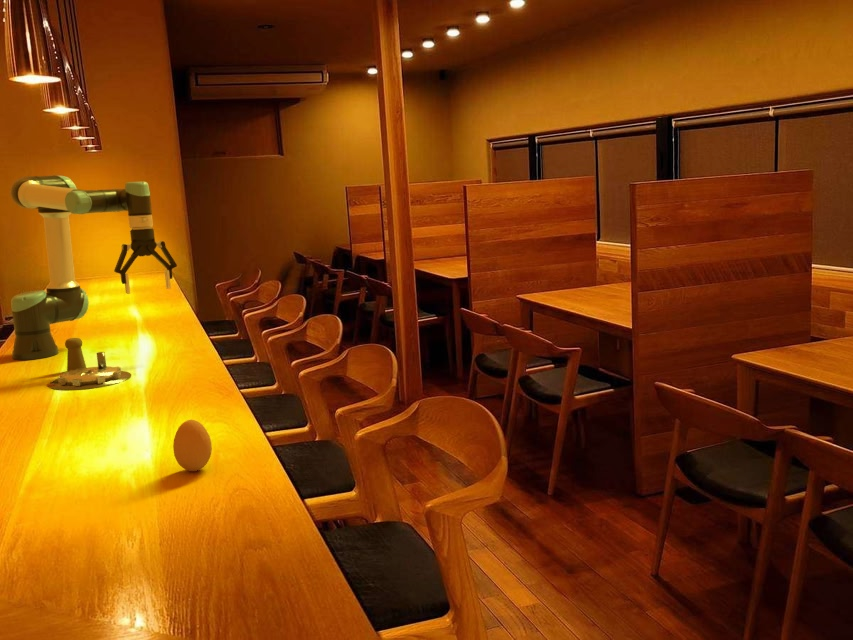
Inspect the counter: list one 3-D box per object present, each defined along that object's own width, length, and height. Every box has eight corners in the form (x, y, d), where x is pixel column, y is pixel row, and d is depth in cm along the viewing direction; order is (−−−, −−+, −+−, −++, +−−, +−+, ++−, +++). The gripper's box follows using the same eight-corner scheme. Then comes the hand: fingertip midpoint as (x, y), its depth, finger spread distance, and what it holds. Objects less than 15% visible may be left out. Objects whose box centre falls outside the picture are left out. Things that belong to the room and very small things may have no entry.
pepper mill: (90, 369, 265) (86, 337, 263) (74, 373, 260) (70, 340, 258) (79, 368, 268) (75, 336, 266) (63, 372, 263) (59, 339, 261)
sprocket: (44, 385, 243) (41, 363, 242) (85, 370, 261) (82, 349, 260) (96, 387, 238) (93, 364, 237) (134, 372, 256) (132, 350, 255)
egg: (198, 478, 160) (193, 427, 158) (167, 475, 163) (162, 424, 161) (221, 465, 167) (216, 416, 165) (191, 462, 170) (186, 413, 168)
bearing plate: (30, 388, 242) (30, 387, 242) (84, 370, 264) (83, 368, 264) (98, 391, 235) (97, 389, 235) (146, 371, 258) (146, 370, 258)
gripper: (105, 231, 257) (113, 296, 261) (182, 225, 271) (188, 287, 275) (100, 230, 264) (107, 294, 267) (175, 225, 277) (181, 286, 281)
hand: (148, 291), depth 271 cm, fingers open, 13 cm apart
